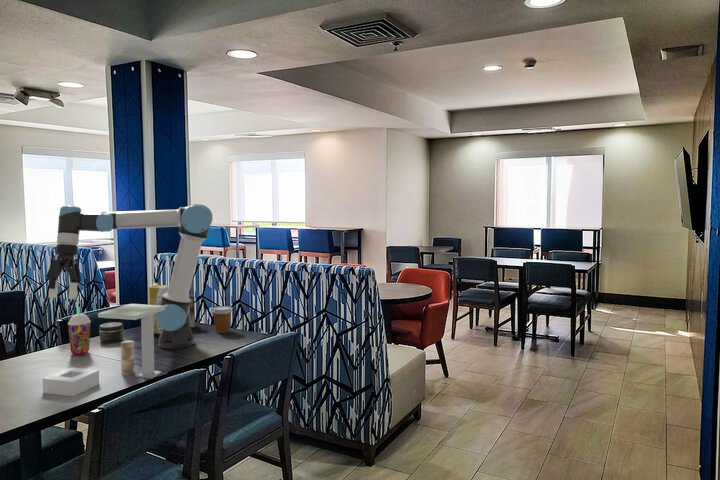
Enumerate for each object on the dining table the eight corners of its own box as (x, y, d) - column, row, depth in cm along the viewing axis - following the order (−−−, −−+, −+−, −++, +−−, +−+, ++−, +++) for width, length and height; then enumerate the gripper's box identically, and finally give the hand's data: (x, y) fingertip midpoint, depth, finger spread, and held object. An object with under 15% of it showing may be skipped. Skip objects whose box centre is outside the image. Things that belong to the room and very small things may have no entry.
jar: (116, 344, 233) (116, 327, 233) (95, 343, 233) (94, 327, 233) (127, 338, 243) (127, 322, 242) (106, 337, 243) (105, 321, 243)
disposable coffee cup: (214, 335, 251) (214, 310, 250) (210, 330, 259) (210, 306, 258) (234, 332, 255) (234, 309, 254) (229, 328, 264) (229, 305, 263)
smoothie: (81, 357, 212) (80, 309, 211) (64, 356, 214) (62, 308, 212) (95, 352, 220) (94, 305, 219) (78, 350, 222) (77, 304, 221)
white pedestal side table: (99, 380, 186) (98, 313, 185) (131, 364, 204) (130, 303, 202) (141, 384, 183) (140, 316, 181) (170, 368, 200) (169, 306, 199)
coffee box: (193, 324, 272) (193, 294, 270) (195, 327, 266) (194, 296, 265) (175, 325, 268) (174, 295, 267) (176, 328, 262) (175, 297, 261)
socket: (70, 381, 185) (69, 367, 185) (99, 384, 183) (98, 370, 182) (42, 393, 173) (42, 378, 173) (73, 396, 171) (73, 381, 170)
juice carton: (156, 329, 260) (155, 282, 258) (171, 330, 259) (170, 282, 257) (146, 333, 251) (145, 285, 249) (161, 334, 250) (160, 285, 248)
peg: (133, 370, 197) (132, 339, 196) (135, 374, 193) (134, 342, 193) (120, 372, 195) (120, 341, 194) (122, 376, 191) (122, 344, 190)
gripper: (75, 248, 218) (70, 299, 215) (38, 240, 194) (33, 297, 191) (92, 248, 218) (88, 299, 215) (58, 240, 194) (53, 297, 191)
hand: (62, 298), depth 203 cm, fingers open, 13 cm apart
